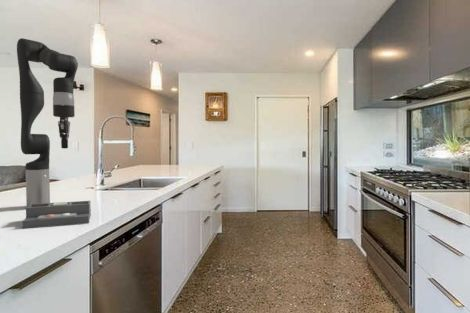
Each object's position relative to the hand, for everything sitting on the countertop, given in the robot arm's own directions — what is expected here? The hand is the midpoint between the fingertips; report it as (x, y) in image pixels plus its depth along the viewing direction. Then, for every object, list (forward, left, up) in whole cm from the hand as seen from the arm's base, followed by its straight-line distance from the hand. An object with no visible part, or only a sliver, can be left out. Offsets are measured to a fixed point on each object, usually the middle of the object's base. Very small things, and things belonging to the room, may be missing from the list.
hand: (64, 148), depth 129 cm
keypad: (+10, -1, -27) cm, 29 cm away
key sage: (+8, -1, -23) cm, 24 cm away
